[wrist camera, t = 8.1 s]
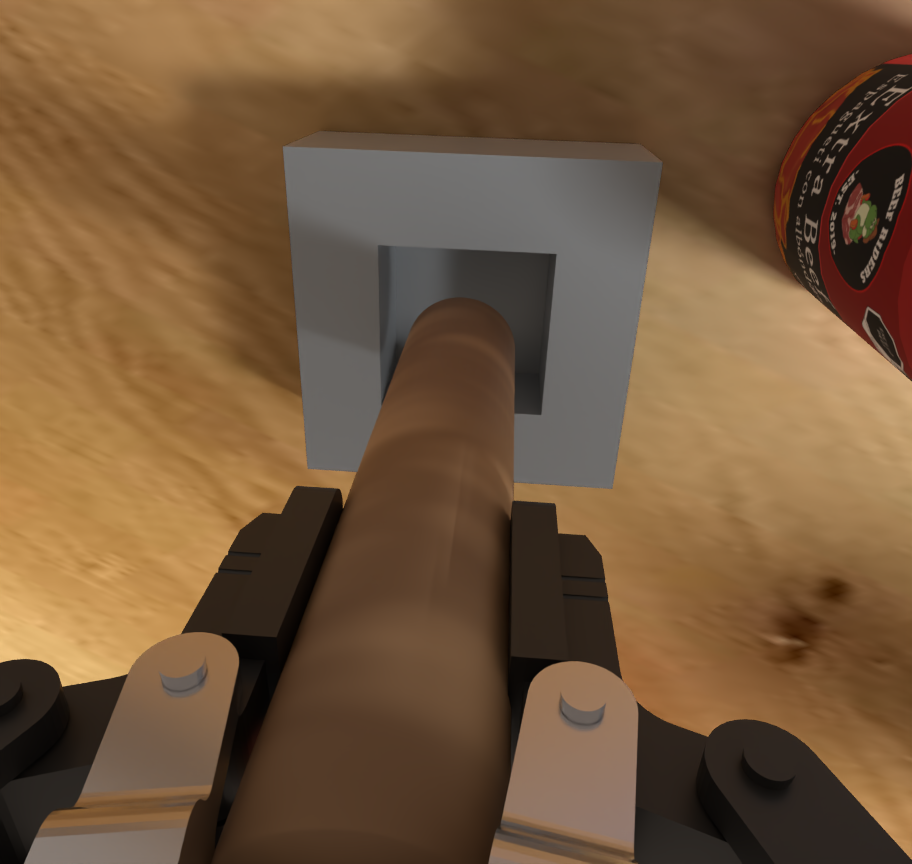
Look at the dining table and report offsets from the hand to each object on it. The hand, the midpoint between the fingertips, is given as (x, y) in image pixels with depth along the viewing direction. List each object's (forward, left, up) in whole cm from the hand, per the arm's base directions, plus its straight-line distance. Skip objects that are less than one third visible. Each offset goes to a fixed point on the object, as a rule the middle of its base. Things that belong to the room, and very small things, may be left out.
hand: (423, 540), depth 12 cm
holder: (0, 0, -14) cm, 14 cm away
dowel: (0, 0, -9) cm, 9 cm away
